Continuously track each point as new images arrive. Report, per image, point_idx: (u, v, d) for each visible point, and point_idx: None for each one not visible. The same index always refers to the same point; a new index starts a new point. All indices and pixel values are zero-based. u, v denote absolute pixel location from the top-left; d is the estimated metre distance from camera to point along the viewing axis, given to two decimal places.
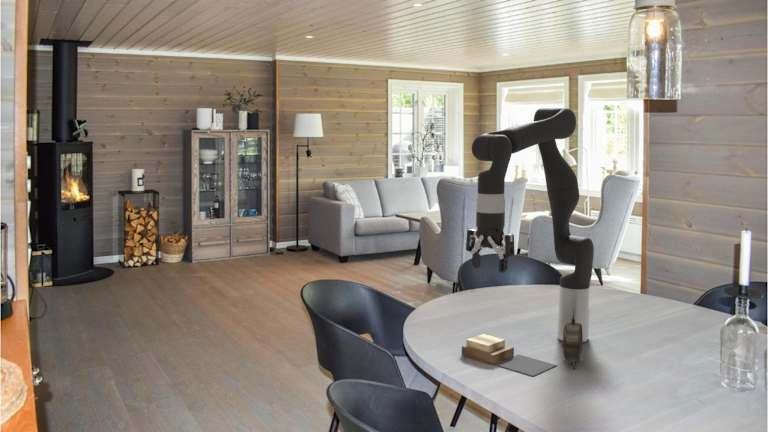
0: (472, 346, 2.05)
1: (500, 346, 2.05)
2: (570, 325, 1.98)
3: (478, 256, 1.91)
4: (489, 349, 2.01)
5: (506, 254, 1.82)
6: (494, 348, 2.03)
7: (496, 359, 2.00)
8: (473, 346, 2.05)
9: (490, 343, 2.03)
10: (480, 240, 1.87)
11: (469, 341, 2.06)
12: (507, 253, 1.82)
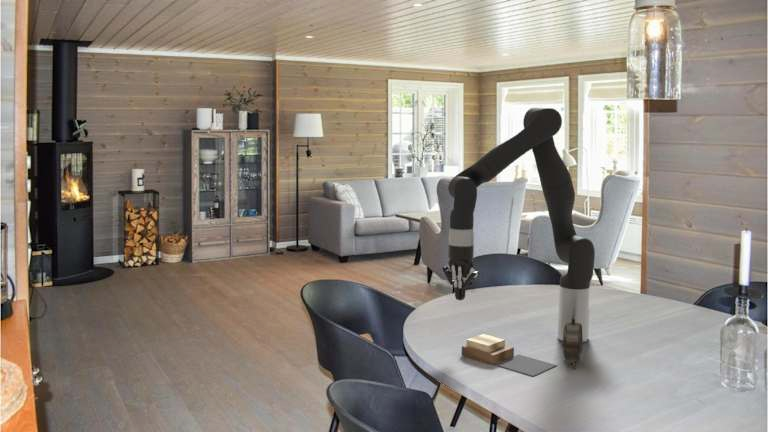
0: (472, 346, 2.05)
1: (500, 346, 2.05)
2: (570, 325, 1.98)
3: None
4: (489, 349, 2.01)
5: (463, 284, 2.09)
6: (494, 348, 2.03)
7: (496, 359, 2.00)
8: (473, 346, 2.05)
9: (490, 343, 2.03)
10: (454, 270, 2.10)
11: (469, 341, 2.06)
12: (464, 283, 2.09)
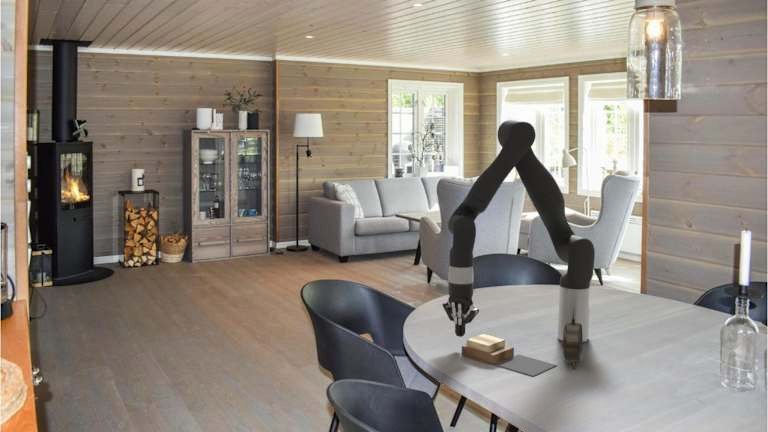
0: (472, 346, 2.05)
1: (500, 346, 2.05)
2: (570, 325, 1.98)
3: None
4: (489, 349, 2.01)
5: (463, 321, 2.10)
6: (494, 348, 2.03)
7: (496, 359, 2.00)
8: (473, 346, 2.05)
9: (490, 343, 2.03)
10: (454, 307, 2.12)
11: (469, 341, 2.06)
12: (464, 320, 2.10)
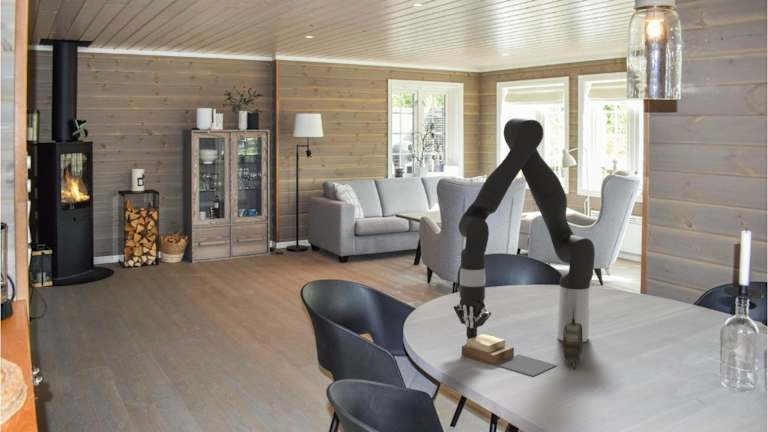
0: (472, 346, 2.05)
1: (500, 346, 2.05)
2: (570, 325, 1.98)
3: None
4: (489, 349, 2.01)
5: (475, 324, 2.07)
6: (494, 348, 2.03)
7: (496, 359, 2.00)
8: (473, 346, 2.05)
9: (490, 343, 2.03)
10: (465, 310, 2.09)
11: (469, 341, 2.06)
12: (476, 323, 2.07)
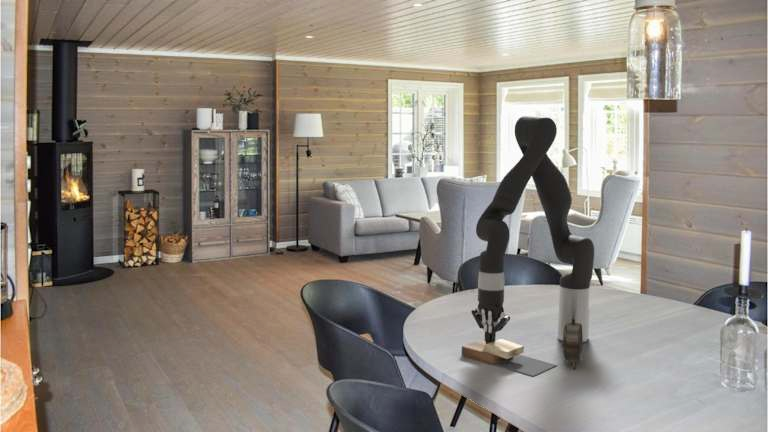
0: (490, 352, 2.00)
1: (519, 352, 2.00)
2: (570, 325, 1.98)
3: None
4: (507, 355, 1.96)
5: (494, 329, 2.02)
6: (512, 354, 1.98)
7: (496, 359, 2.00)
8: (491, 352, 2.00)
9: (509, 349, 1.98)
10: (483, 314, 2.04)
11: (487, 346, 2.01)
12: (495, 328, 2.02)
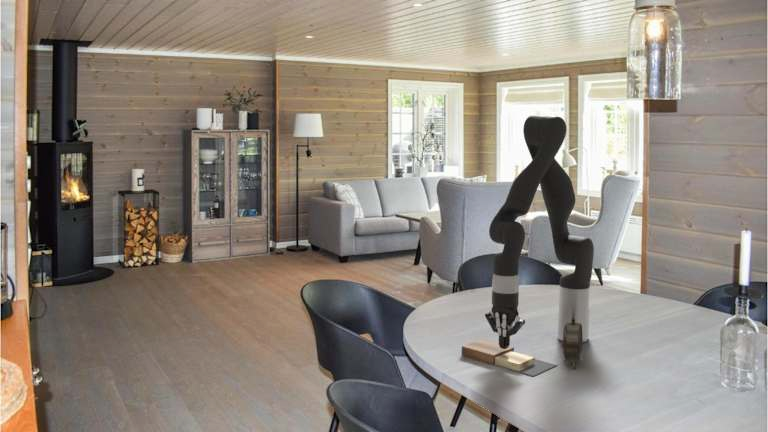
0: (501, 364, 1.97)
1: (530, 364, 1.98)
2: (570, 325, 1.98)
3: None
4: (519, 368, 1.94)
5: (508, 333, 1.99)
6: (524, 366, 1.96)
7: None
8: (502, 364, 1.97)
9: (520, 361, 1.96)
10: (497, 317, 2.00)
11: (498, 359, 1.98)
12: (509, 332, 1.99)
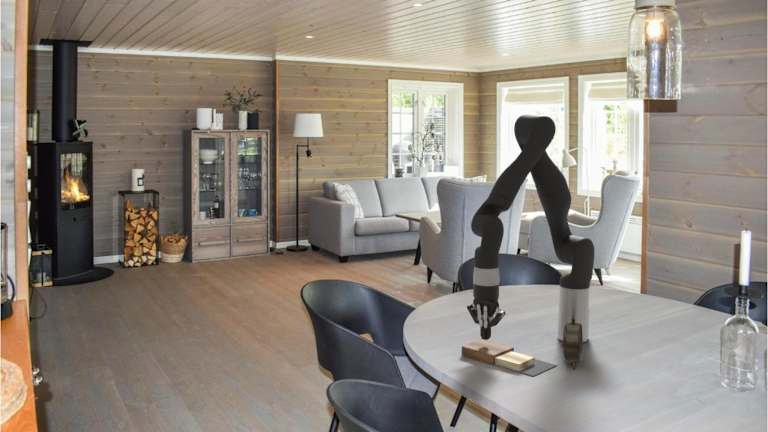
0: (501, 364, 1.97)
1: (530, 364, 1.98)
2: (570, 325, 1.98)
3: None
4: (519, 368, 1.94)
5: (489, 324, 2.04)
6: (524, 366, 1.96)
7: None
8: (502, 364, 1.97)
9: (520, 361, 1.96)
10: (479, 309, 2.05)
11: (498, 359, 1.98)
12: (490, 323, 2.04)
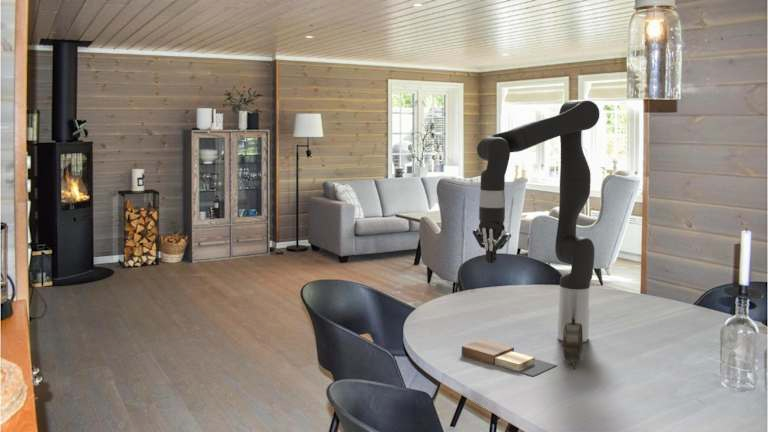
0: (501, 364, 1.97)
1: (530, 364, 1.98)
2: (570, 325, 1.98)
3: None
4: (519, 368, 1.94)
5: (495, 247, 2.05)
6: (524, 366, 1.96)
7: None
8: (502, 364, 1.97)
9: (520, 361, 1.96)
10: (484, 233, 2.07)
11: (498, 359, 1.98)
12: (496, 246, 2.05)
